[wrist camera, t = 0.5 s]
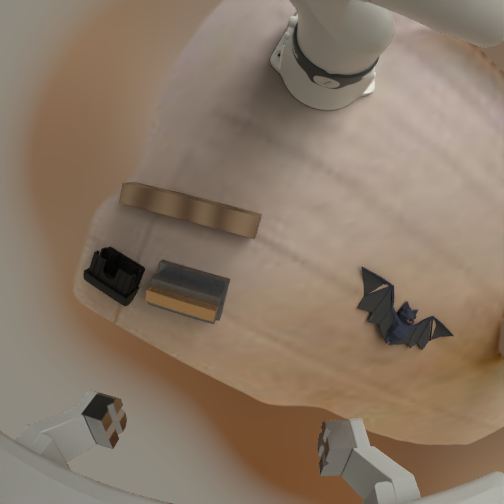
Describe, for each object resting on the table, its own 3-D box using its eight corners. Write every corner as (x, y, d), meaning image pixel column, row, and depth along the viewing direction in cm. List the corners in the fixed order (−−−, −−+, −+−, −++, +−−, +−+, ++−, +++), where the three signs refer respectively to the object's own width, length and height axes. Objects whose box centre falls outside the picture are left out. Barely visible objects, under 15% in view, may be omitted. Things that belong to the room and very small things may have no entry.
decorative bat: (333, 313, 50) (366, 266, 48) (328, 305, 54) (359, 261, 52) (432, 374, 52) (460, 337, 50) (424, 365, 56) (450, 330, 54)
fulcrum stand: (162, 259, 54) (145, 272, 46) (230, 278, 54) (222, 295, 46) (157, 298, 56) (140, 315, 48) (220, 317, 56) (212, 337, 48)
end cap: (97, 273, 56) (80, 284, 50) (107, 244, 54) (89, 252, 48) (136, 298, 57) (121, 311, 50) (148, 269, 55) (132, 280, 48)
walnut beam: (131, 200, 52) (119, 202, 47) (135, 182, 51) (122, 182, 46) (256, 233, 52) (254, 239, 47) (261, 214, 51) (260, 217, 46)
